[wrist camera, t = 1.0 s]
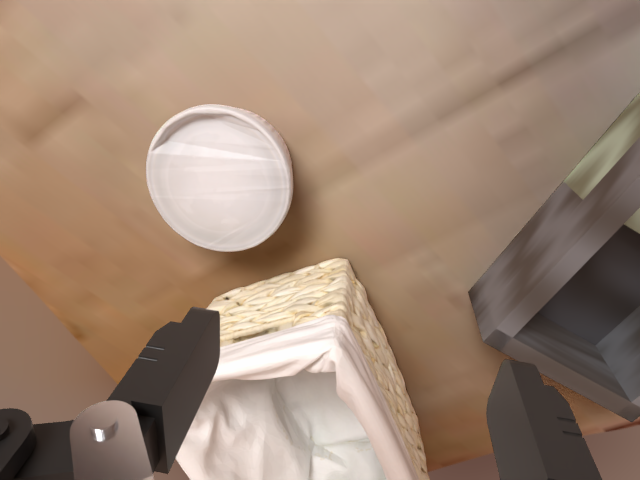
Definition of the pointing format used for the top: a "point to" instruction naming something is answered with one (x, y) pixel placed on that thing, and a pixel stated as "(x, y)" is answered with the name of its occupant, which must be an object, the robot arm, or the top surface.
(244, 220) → the ramekin
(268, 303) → the storage basket
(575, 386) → the lane
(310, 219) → the top surface
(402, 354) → the top surface
